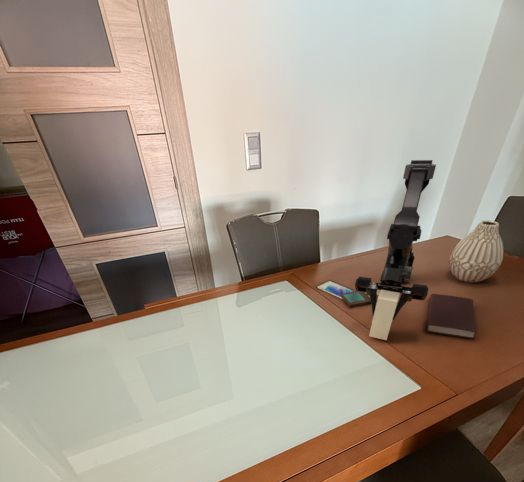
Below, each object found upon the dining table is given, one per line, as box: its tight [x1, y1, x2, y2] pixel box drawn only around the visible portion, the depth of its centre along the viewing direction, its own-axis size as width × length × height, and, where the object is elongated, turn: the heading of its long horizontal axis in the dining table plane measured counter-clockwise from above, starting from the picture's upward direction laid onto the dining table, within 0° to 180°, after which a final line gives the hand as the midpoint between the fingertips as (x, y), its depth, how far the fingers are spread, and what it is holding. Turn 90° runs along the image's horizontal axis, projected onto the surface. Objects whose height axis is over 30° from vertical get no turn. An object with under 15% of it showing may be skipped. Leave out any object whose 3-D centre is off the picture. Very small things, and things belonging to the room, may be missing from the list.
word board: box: [340, 287, 385, 308], centre depth 108 cm, size 17×8×2 cm, turn 102°
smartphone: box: [317, 280, 356, 300], centre depth 113 cm, size 7×1×15 cm
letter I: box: [368, 290, 401, 341], centre depth 86 cm, size 5×5×13 cm
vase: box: [448, 220, 505, 284], centre depth 108 cm, size 16×16×20 cm
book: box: [426, 293, 477, 339], centre depth 94 cm, size 12×19×3 cm, turn 155°
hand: (382, 317), depth 85 cm, fingers closed on letter I, 5 cm apart
